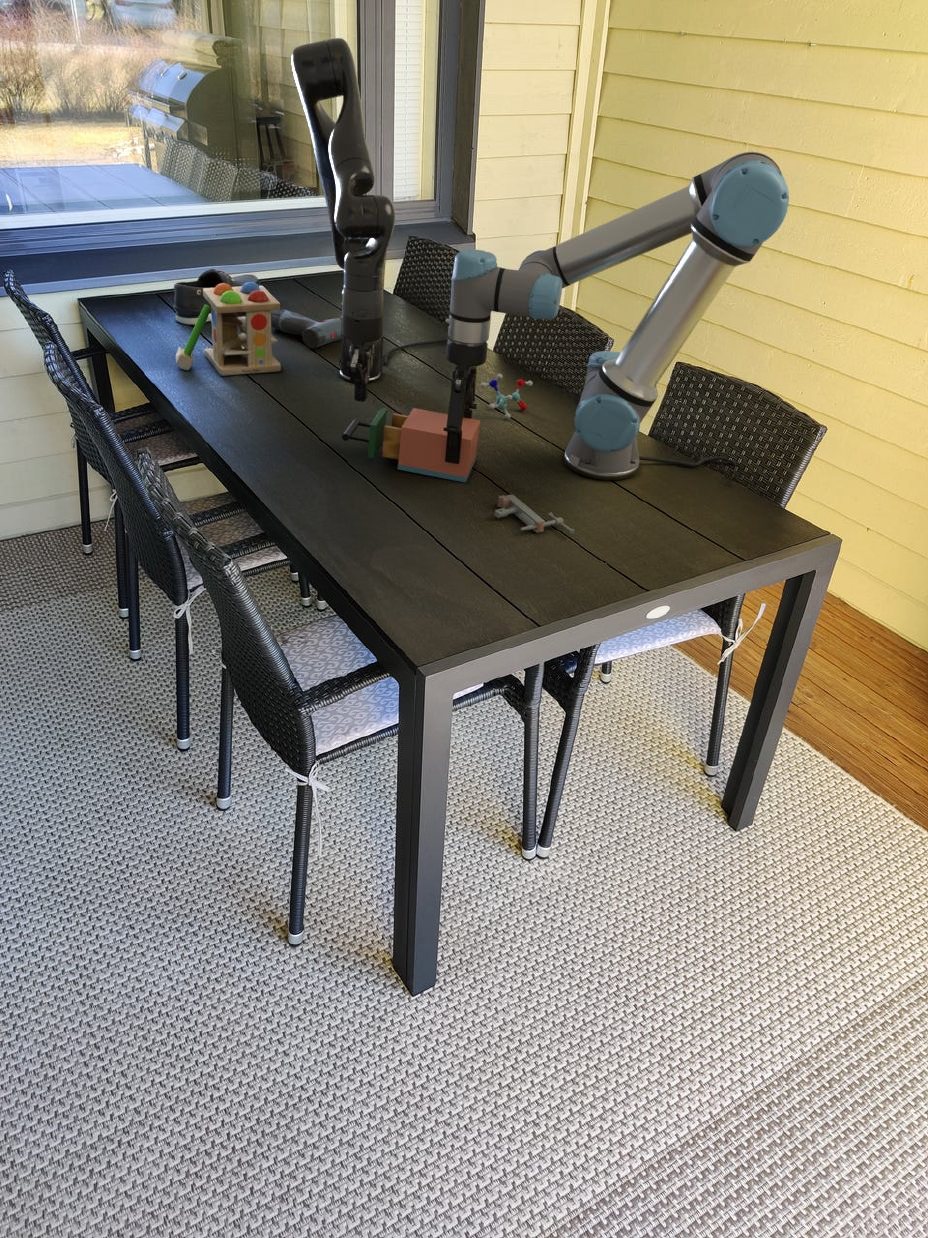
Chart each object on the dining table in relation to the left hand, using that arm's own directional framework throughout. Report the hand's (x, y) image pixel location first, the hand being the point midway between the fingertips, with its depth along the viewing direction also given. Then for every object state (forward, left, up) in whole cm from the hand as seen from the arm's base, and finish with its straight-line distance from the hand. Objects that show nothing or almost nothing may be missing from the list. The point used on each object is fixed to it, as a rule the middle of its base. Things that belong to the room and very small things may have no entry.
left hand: (360, 399), depth 190 cm
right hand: (-8, +18, -8) cm, 21 cm away
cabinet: (-6, +15, -11) cm, 19 cm away
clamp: (+2, +41, -12) cm, 42 cm away
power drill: (-48, -54, -12) cm, 73 cm away
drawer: (-2, +6, -10) cm, 12 cm away
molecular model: (-40, +10, -12) cm, 43 cm away
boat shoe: (-46, -83, -12) cm, 96 cm away
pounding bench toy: (-17, -53, -12) cm, 57 cm away
